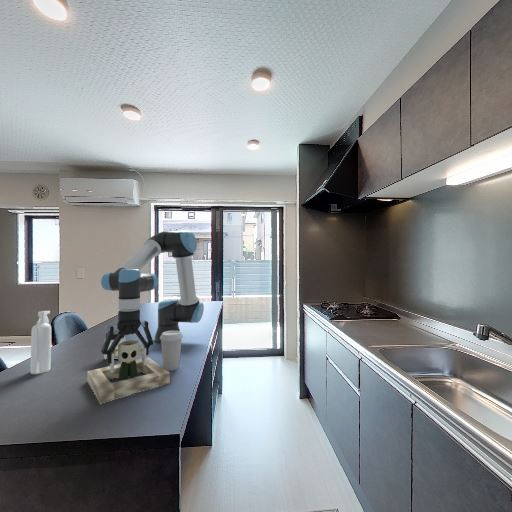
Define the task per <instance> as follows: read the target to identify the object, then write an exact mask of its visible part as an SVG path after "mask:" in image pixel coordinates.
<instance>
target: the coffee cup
mask: <svg viewBox="0 0 512 512" xmlns="http://www.w3.org/2000/svg"><path fill="white" fill-rule="evenodd" d="M183 337H184V335H183V334H182V332H181V330H180V331H166V332H163V333H162V335H161V337H160V340H161V343H160V344H161V345H160V346H161V354H162V355H161V356H162V368H164V369H165V370H167V371H168V372H170V371H175V370H177V369H179V367H180V361H181V360H180V358H181V350H182V349H181V348H182V339H183Z"/></svg>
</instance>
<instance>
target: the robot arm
mask: <svg viewBox="0 0 512 512" xmlns="http://www.w3.org/2000/svg"><path fill="white" fill-rule="evenodd" d="M197 246H198V242H197V238H196V235H195V234H194V233H193V232H192V231H191V230H168V231H167V230H164V231H161V232H158V233H156V234H154V235H153V236H151V237H150V238H148V239H147V240H146V241H144V243H143V246H142V247H141V248H140V249H139V250H137V252H135V253H134V254H133V255H132V256H131V257H129V259H128V260H126V261H125V262H124V263H123V264H122V265H121V266H120V267H118V269H116V270H115V271H114V272H106V273H104V274H103V275H102V276H101V280H100V284H101V288H102V289H103V290H105V291H110V292H111V291H112V292H115V291H116V292H118V302H117V303H118V307H117V308H118V312H117V323H116V325H115V324H114V325H111V324H110V325H108V328H107V330H108V331H107V332H108V334H107V337H106V336H105V339H106V340H105V339H104V341H105V342H104V341H103V346H102V348H101V351H100V352H101V353H102V354H103V355H104V354H106V355H107V360H106V363H107V364H108V365H109V366H110V372H111V373H114V365H115V360H114V354H113V351H114V350H115V348H116V346H117V345H118V343H119V342H120V340H121V338H123V336H124V335H125V336H128V335H134V334H135V335H136V336H137V338H138V339H139V341H140V342H141V343H142V344H141V345H143V346H144V353H143V354H141V359H142V364H143V365H146V358H147V357H148V356H149V354H150V353H149V352H150V351H149V350H150V347H151V346H153V345H154V342H156V343H159V344H161V340H160V337H161V335H162V333H163V332H166V331H180V332H181V330H180V325H179V323H188V324H189V323H191V324H193V323H199V322H200V321H201V320H202V318H203V316H204V315H203V314H204V309H205V306H204V303H203V302H201V301H200V298H199V297H198V296H197V295H196V294H197V292H196V284H195V278H194V277H195V276H194V268H193V260H192V259H193V258H192V257H193V256H194V255H195V252H197V248H198V247H197ZM163 253H171V257H172V258H173V259H175V265H176V272H177V280H178V286H179V294H180V295H179V296H180V299H179V298H178V299H176V298H175V299H168V300H162V301H160V302H158V307H157V329H156V331H155V335H154V340H153V337H152V334H151V331H150V327H149V321H147V320H143V321H141V310H140V308H141V293H142V292H143V293H144V292H150V291H153V290H155V289H157V286H158V284H159V279H158V276H157V275H156V274H155V273H153V272H145V273H143V272H141V271H143V269H144V268H145V267H146V266H148V264H149V263H150V262H151V261H152V260H153V259H154V258H155V257H159V256H160V254H163ZM140 327H142V328H143V331H144V334H145V338H146V339H145V338H144V336H143V335H142V333H141V331H140V330H139V329H140ZM116 329H117V330H119V332H118V334H117V336H116V338H115V339H114V341H113V343H112V344H111V346H110V347H109V345H110V342H111V339H112V336H113V333H114V331H116ZM108 347H109V349H108Z"/></svg>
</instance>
